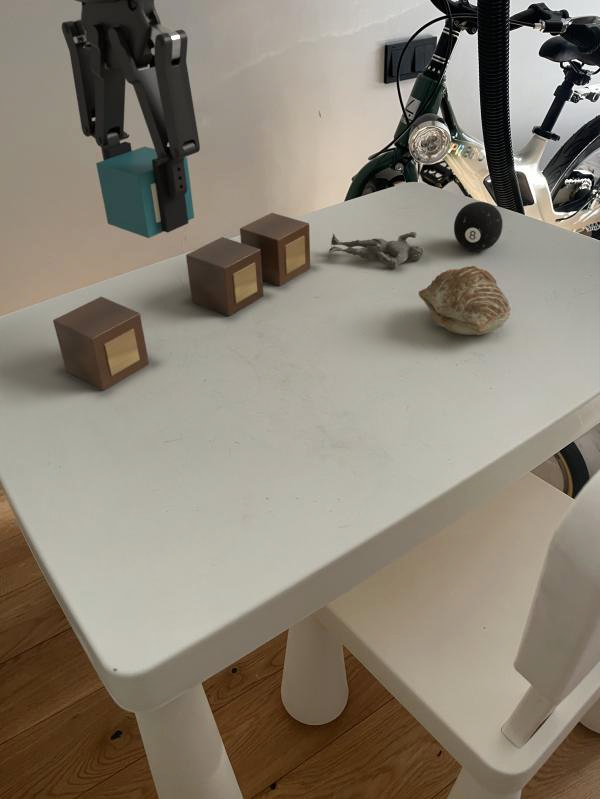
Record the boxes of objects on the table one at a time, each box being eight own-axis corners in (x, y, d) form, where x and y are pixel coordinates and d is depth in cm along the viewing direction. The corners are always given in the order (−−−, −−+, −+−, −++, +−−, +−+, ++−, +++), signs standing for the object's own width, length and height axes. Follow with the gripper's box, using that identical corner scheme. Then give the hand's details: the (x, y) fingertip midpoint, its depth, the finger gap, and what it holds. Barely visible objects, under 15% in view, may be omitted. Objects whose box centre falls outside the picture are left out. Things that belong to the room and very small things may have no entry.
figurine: (330, 221, 95) (424, 218, 92) (334, 244, 98) (425, 242, 95) (324, 254, 91) (421, 251, 89) (328, 277, 94) (423, 275, 92)
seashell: (464, 361, 75) (518, 331, 79) (469, 303, 71) (526, 274, 74) (403, 321, 81) (456, 295, 85) (405, 266, 77) (460, 240, 80)
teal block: (107, 224, 72) (95, 162, 68) (153, 205, 75) (144, 145, 72) (149, 239, 68) (139, 175, 65) (195, 218, 72) (188, 157, 69)
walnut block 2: (191, 301, 86) (185, 254, 83) (226, 282, 90) (222, 236, 86) (230, 317, 83) (225, 268, 80) (264, 296, 87) (261, 249, 83)
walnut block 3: (243, 273, 92) (239, 228, 88) (274, 256, 96) (271, 212, 92) (281, 286, 89) (278, 240, 85) (311, 268, 92) (310, 223, 89)
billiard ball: (503, 242, 97) (509, 198, 93) (493, 261, 92) (499, 215, 89) (458, 236, 99) (462, 192, 95) (446, 254, 95) (451, 209, 91)
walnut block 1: (65, 371, 75) (52, 319, 72) (111, 345, 79) (101, 296, 75) (104, 391, 72) (92, 339, 68) (150, 364, 76) (141, 313, 72)
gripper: (227, -61, 56) (249, 228, 69) (72, -65, 66) (118, 188, 79) (152, -51, 51) (192, 256, 64) (-3, -58, 61) (60, 210, 75)
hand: (151, 218), depth 72 cm, fingers closed on teal block, 6 cm apart
